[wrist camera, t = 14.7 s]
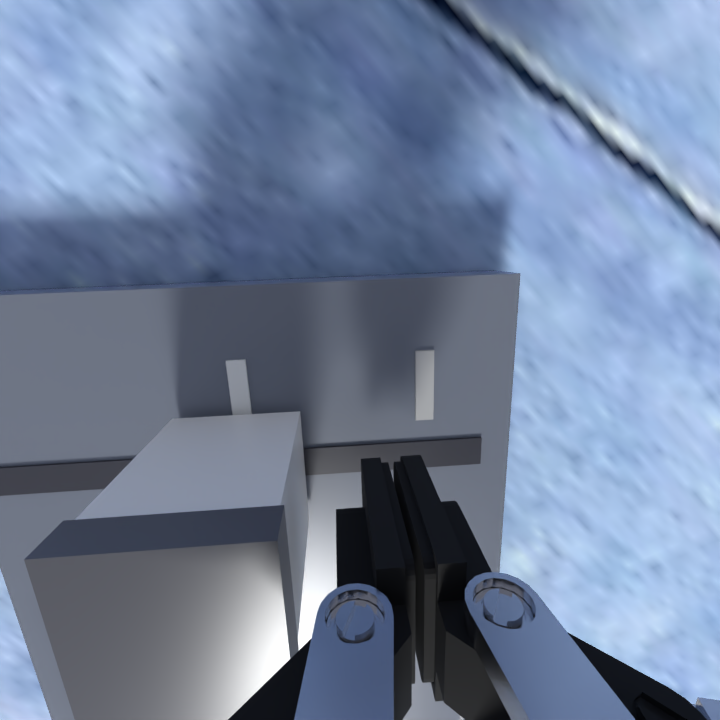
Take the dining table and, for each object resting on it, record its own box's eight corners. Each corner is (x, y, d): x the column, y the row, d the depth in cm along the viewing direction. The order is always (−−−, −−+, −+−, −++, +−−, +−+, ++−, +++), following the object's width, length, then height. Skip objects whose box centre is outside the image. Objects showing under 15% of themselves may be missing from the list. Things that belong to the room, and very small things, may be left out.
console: (495, 270, 14) (521, 273, 12) (468, 767, 21) (482, 822, 19) (-30, 292, 13) (-95, 299, 11) (122, 804, 20) (99, 866, 18)
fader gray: (303, 408, 13) (277, 540, 7) (312, 520, 14) (296, 715, 8) (168, 415, 12) (23, 559, 7) (188, 529, 14) (80, 737, 8)
